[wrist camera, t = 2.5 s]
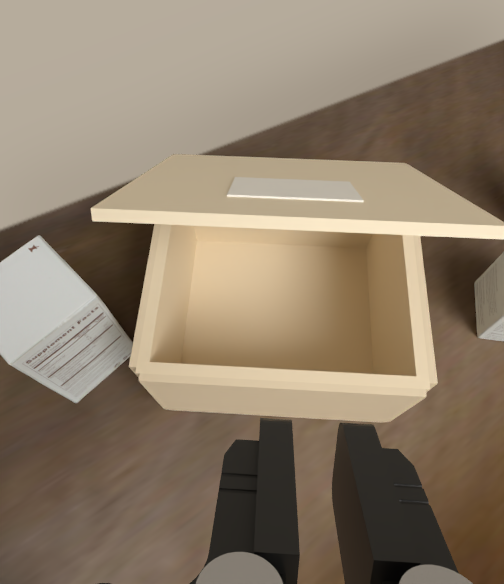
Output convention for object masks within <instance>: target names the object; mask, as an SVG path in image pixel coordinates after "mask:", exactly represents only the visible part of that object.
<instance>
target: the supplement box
mask: <svg viewBox="0 0 504 584" xmlns="http://www.w3.org/2000/svg"><path fill="white" fill-rule="evenodd" d="M132 346H133V342H132V341H131V339H130V338H129V337H128V336H127V334H126V333H125V331H124V330H123V329H122V327H121V326H120V324H119V323H118V322H117V320H116V319H115V318H114V316H113V315H112V313H111V312H110V311H109V309H108V308H107V307H106V305H105V304H104V303H103V301H102V300H101V299H100V298H99V296H98V295H97V294H96V293H95V292H94V291H93V290H92V289H91V288H90V287H89V286H88V285H87V284H86V283H85V282H84V281H83V280H82V278H81V277H80V276H79V275H78V274H77V273H76V272H75V271H74V270H73V269H72V268H71V267H70V266H69V265H68V264H67V263H66V262H65V261H64V260H63V259H62V258H61V257H60V256H59V255H58V254H57V253H56V252H55V251H54V250H53V249H52V247H51V246H50V245H49V244H48V243H47V242H46V241H45V240H44V239H43V238H42V237H41V236H40V235H38V236H37V237H35V238H34V239H32V240H31V241H29V242H28V243H27V244H25V245H24V246H22V247H21V248H19V249H18V250H17V251H15V252H14V253H13V254H11V255H10V256H8V257H7V258H6V259H4V260H3V261H1V262H0V355H1V356H2V357H3V358H4V359H5V361H6V362H7V363H8V364H9V365H11V366H13V367H14V368H16V369H18V370H19V371H21V372H23V373H25V374H26V375H28V376H30V377H31V378H33V379H35V380H36V381H38V382H40V383H41V384H43V385H45V386H46V387H48V388H50V389H52V390H53V391H55V392H57V393H59V394H60V395H62V396H64V397H66V398H67V399H69V400H71V401H73V402H75V403H77V402H79V401H80V400H81V399H82V398H83V397H84V396H86V395H87V394H88V393H89V392H90V391H91V390H92V389H93V388H95V387H96V386H97V385H98V384H99V383H100V382H102V381H103V380H104V379H105V378H106V377H107V376H108V375H110V374H111V373H112V372H113V371H114V370H115V369H116V368H118V367H119V366H120V365H121V364H122V363H123V362H124V361H125V360H127V359H128V358H129V357H130V356H131V352H132Z"/></svg>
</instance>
